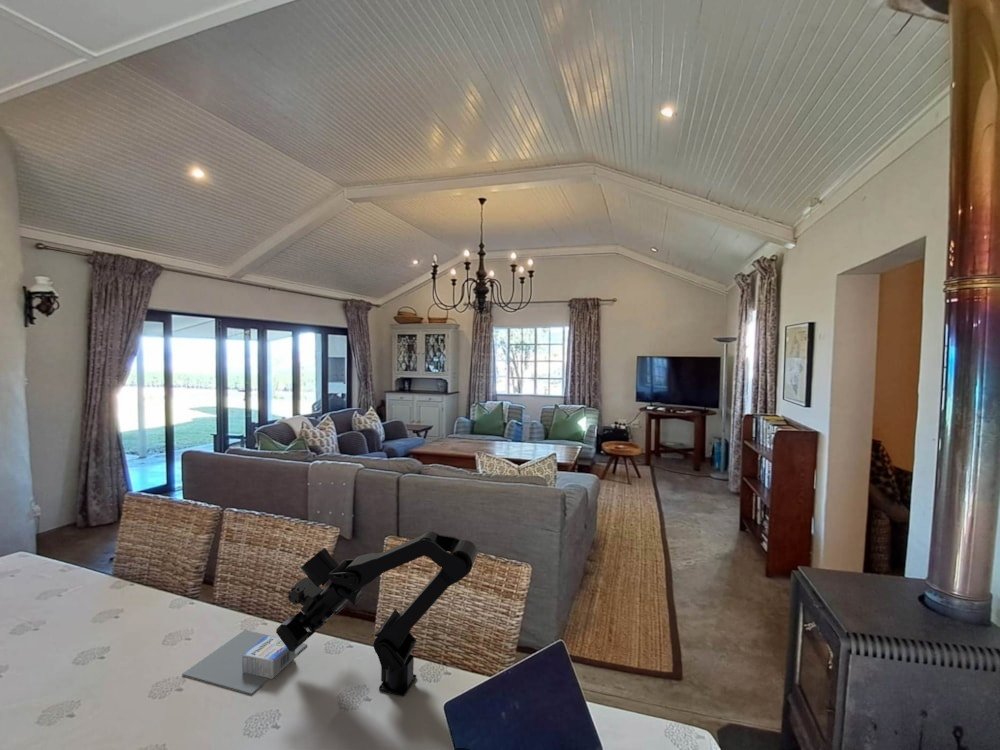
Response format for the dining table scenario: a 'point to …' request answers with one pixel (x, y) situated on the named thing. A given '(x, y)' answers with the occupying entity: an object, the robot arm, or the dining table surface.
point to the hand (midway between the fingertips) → (293, 635)
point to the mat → (231, 665)
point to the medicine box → (267, 657)
